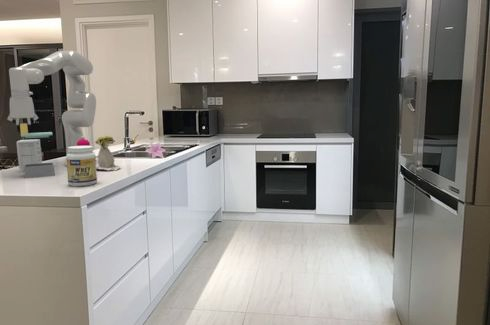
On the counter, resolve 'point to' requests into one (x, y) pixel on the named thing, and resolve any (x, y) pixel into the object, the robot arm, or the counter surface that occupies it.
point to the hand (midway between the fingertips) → (24, 132)
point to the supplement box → (28, 152)
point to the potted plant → (105, 154)
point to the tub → (39, 170)
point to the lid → (32, 135)
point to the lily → (156, 150)
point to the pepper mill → (83, 142)
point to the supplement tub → (81, 166)
